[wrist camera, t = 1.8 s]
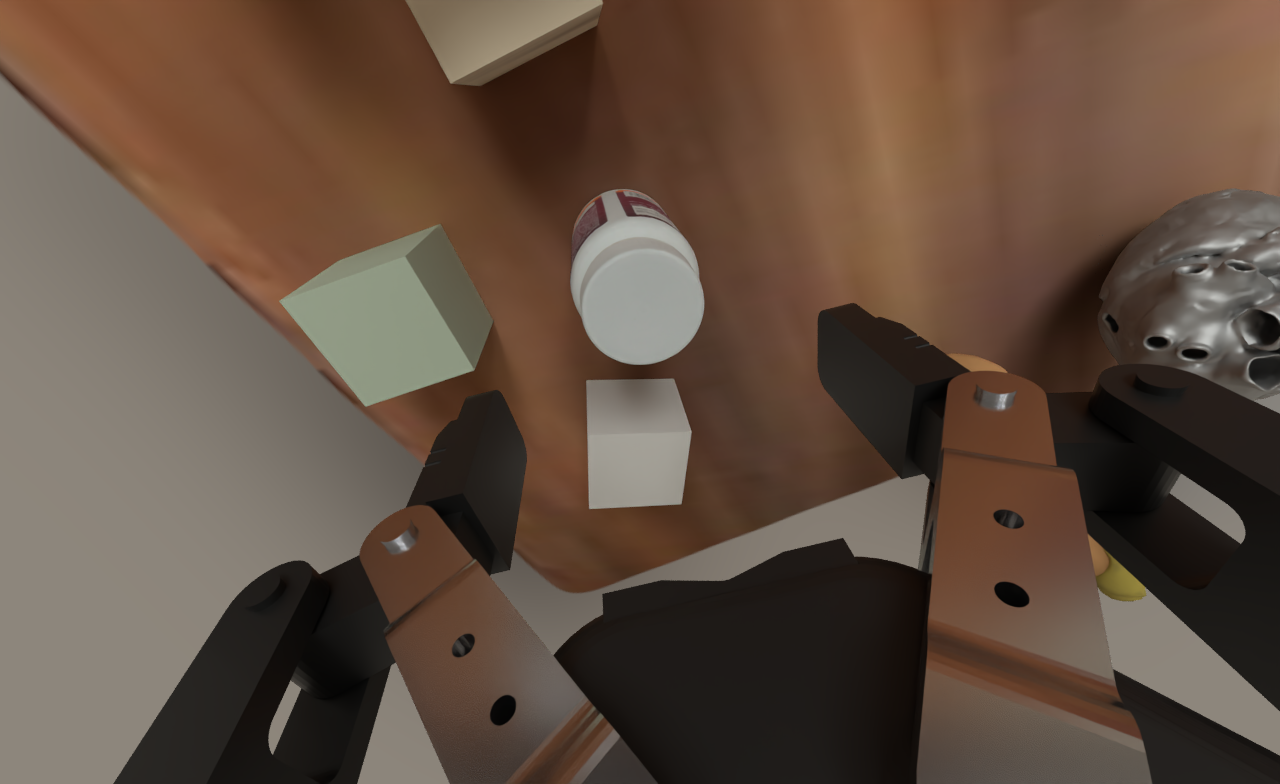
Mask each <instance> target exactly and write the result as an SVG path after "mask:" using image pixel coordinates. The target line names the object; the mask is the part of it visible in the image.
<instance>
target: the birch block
mask: <svg viewBox="0 0 1280 784" xmlns="http://www.w3.org/2000/svg"><path fill="white" fill-rule="evenodd" d="M406 2H407V4H408V6H409V7H410V9H411V11H412V13H413V15H414V17H415V19H416V20H417V22H418V24H419V26H420V28H421V30H422V32H423V33H424V35H425V37H426V39H427V41H428V43H429V45H430V46H431V48H432V50H433V52H434V54H435V56H436V57H437V59H438V61H439V63H440V65H441V67H442V69H443V70H444V72H445V74H446V76H447V78H448V80H449V82H450V83H451V84H461V85H473V86H482V85H484V84H485V83H487V82H489V81H491V80H493V79H495V78H497V77H499V76H501V75H503V74H505V73H507V72H508V71H510V70H512V69H514V68H516V67H518V66H520V65H522V64H524V63H526V62H528V61H530V60H532V59H533V58H535V57H537V56H539V55H541V54H543V53H545V52H547V51H549V50H551V49H553V48H555V47H557V46H558V45H560V44H562V43H564V42H566V41H568V40H570V39H572V38H574V37H576V36H578V35H580V34H582V33H583V32H585V31H587V30H589V29H591V28H593V27H595V26H597V24H598V20H599V17H600V13H601V9H602V5H603V2H602V0H406Z"/></svg>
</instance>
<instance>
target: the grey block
mask: <svg viewBox="0 0 1280 784" xmlns="http://www.w3.org/2000/svg"><path fill="white" fill-rule="evenodd" d="M586 388H587V440H588V485H589V509H599V508H618V507H638V506H657V505H677V504H682V497H683V490H684V483H685V475H686V468H687V461H688V454H689V447H690V440H691V433H692V431H691V428H690V425H689V422H688V419H687V416H686V413H685V410H684V407H683V404H682V401H681V398H680V395H679V392H678V389H677V386H676V383H675V380H674V379H627V380H586Z"/></svg>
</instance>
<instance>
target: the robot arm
mask: <svg viewBox="0 0 1280 784" xmlns="http://www.w3.org/2000/svg"><path fill="white" fill-rule="evenodd" d="M818 373H819V377H820V380H821V383H822V385H823V387H824V389H825V390H826V391H827V392H828V394H829V395H830V396H831V397H832V398H833V399H834V401H835V402H836V403H837V404H838V405H839V406H840V408H841V409H842V410H843V411H844V412H845V414H846V415H847V416H848V417H849V418H850V419H851V421H852V422H853V423H854V424H855V425H856V426H857V428H858V429H859V430H860V431H861V432H862V433H863V435H864V436H865V437H866V438H867V439H868V440H869V442H870V443H871V444H872V445H873V446H874V447H875V449H876V450H877V451H878V452H879V453H880V454H881V456H882V457H883V458H884V459H885V460H886V462H887V463H888V464H889V465H890V466H891V467H892V469H893V470H894V471H895V472H896V473H897V474H898V476H899V477H900V478H901V479H904V478H908V477H913V476H917V475H921V474H925V475H926V476H927V477H928V478H929V479H930V482H929V487H928V492H927V500H926V509H925V517H924V525H923V533H922V541H921V550H920V558H919V565H918V569H915V568H913V567H910V566H906V565H903V564H900V563H897V562H892V561H888V560H883V559H877V558H868V557H854V555H853V554H852V552H851V550H850V549H849V547H848V545H847V544H846V542H845V540H844V539H843V538H841V539H837V540H833V541H828V542H824V543H820V544H815V545H811V546H807V547H802V548H798V549H794V550H790V551H785V552H782V553H780V554H778V555H777V556H775V557H773V558H771V559H769V560H767V561H765V562H763V563H761V564H759V565H757V566H755V567H753V568H751V569H749V570H747V571H745V572H743V573H741V574H740V575H737V576H736V577H734V578H731V579H729V580H725V581H664V580H661V581H657V582H652V583H648V584H644V585H639V586H635V587H631V588H626V589H623V590H618V591H614V592H609V593H605V594H603V615H601V616H600V617H598V618H595V619H594V620H593V621H591V622H589V623H588V624H586V625H585V626H583V627H582V628H581V629H580V630H579V631H577V632H576V633H575V634H573V635H572V636H571V637H570V638H569V639H568V640H567V641H566V642H565V643H564V644H563V645H562V646H561V647H560V648H559V649H558V650H557V652H556V653H555V654H554V655H552V654H551V652H550V651H549V650H548V649H547V647H546V646H545V645H544V644H543V642H542V641H541V640H540V639H539V637H538V636H537V635H536V634H535V632H534V631H533V630H532V629H531V627H530V626H529V625H528V624H527V622H526V621H525V620H524V619H523V617H522V616H521V615H520V614H519V612H518V611H517V610H516V609H515V607H514V606H513V605H512V604H511V602H510V601H509V600H508V599H507V597H506V596H505V595H504V594H503V592H502V591H501V590H500V589H499V587H498V586H497V585H496V584H495V582H494V581H493V580H492V579H491V577H490V575H491V574H495V573H499V572H503V571H507V570H510V567H511V560H512V553H513V547H514V541H515V534H516V528H517V521H518V514H519V508H520V501H521V495H522V488H523V482H524V475H525V469H526V462H527V454H526V448H525V444H524V440H523V438H522V435H521V433H520V431H519V429H518V427H517V425H516V422H515V420H514V418H513V416H512V414H511V412H510V410H509V407H508V405H507V403H506V401H505V399H504V397H503V395H502V394H501V392H500V391H498V390H494V391H490V392H486V393H482V394H478V395H473V396H469V397H467V398H466V399H465V401H464V404H463V407H462V409H461V412H460V414H459V417H458V419H457V420H454V421H451V422H450V423H449V424H448V425H447V426H446V427H445V428H444V429H443V430H442V431H441V432H440V434H439V435H438V436H437V437H436V440H435V442H434V444H433V446H432V449H431V451H430V452H431V454H430V455H429V456H428V458H427V460H426V463H425V467H423V469H422V472H421V474H420V476H419V479H418V481H417V483H416V486H415V488H414V490H413V492H412V495H411V497H410V500H409V502H408V504H407V506H406V508H404V509H402V510H400V511H397V512H395V513H394V514H392V515H390V516H389V517H387V518H386V519H384V520H383V521H382V522H380V523H379V524H378V525H377V526H376V527H375V528H374V529H373V530H372V531H371V532H370V533H369V535H368V536H367V537H366V539H365V541H364V542H363V544H362V546H361V549H360V555H359V556H357V557H355V558H353V559H351V560H349V561H347V562H344V563H342V564H340V565H338V566H336V567H334V568H332V569H330V570H328V571H326V572H324V573H322V574H319V573H318V572H317V571H316V570H314V569H313V568H312V567H311V566H310V565H309V564H308V563H307V562H305V561H291V562H287V563H285V564H281V565H279V566H277V567H275V568H273V569H271V570H269V571H267V572H266V573H264V574H262V575H261V576H259V577H258V578H257V579H255V580H254V581H253V582H251V583H250V584H249V585H248V586H247V587H246V588H244V590H242V591H241V592H240V593H239V594H238V595H237V597H236V598H235V599H234V600H233V601H232V603H231V604H230V605H229V607H228V608H227V610H226V611H225V613H224V614H223V616H222V617H221V619H220V620H219V622H218V624H217V625H216V627H215V628H214V630H213V631H212V633H211V634H210V636H209V637H208V639H207V640H206V642H205V644H204V645H203V647H202V648H201V650H200V651H199V653H198V654H197V656H196V658H195V659H194V660H193V662H192V664H191V665H190V667H189V668H188V670H187V671H186V673H185V674H184V676H183V678H182V679H181V681H180V682H179V684H178V685H177V687H176V688H175V690H174V691H173V693H172V695H171V696H170V697H169V699H168V701H167V702H166V704H165V705H164V707H163V708H162V710H161V711H160V713H159V714H158V716H157V717H156V719H155V720H154V722H153V724H152V725H151V727H150V728H149V730H148V731H147V733H146V734H145V736H144V737H143V739H142V740H141V742H140V744H139V745H138V747H137V748H136V750H135V752H134V753H133V754H132V756H131V757H130V759H129V761H128V762H127V764H126V765H125V767H124V768H123V770H122V772H121V773H120V774H119V776H118V777H117V779H116V781H115V782H114V784H357V782H358V779H359V775H360V772H361V768H362V765H363V762H364V758H365V755H366V751H367V747H368V744H369V740H370V737H371V734H372V730H373V727H374V723H375V719H376V716H377V713H378V709H379V706H380V702H381V698H382V695H383V692H384V688H385V684H386V681H387V678H388V674H389V671H390V667H391V665H392V664H394V663H396V664H397V666H398V668H399V670H400V673H401V675H402V677H403V679H404V682H405V684H406V686H407V688H408V691H409V693H410V695H411V697H412V700H413V702H414V704H415V706H416V709H417V711H418V713H419V715H420V718H421V720H422V722H423V724H424V727H425V729H426V731H427V734H428V736H429V738H430V740H431V742H432V744H433V747H434V749H435V751H436V754H437V756H438V758H439V760H440V763H441V765H442V767H443V769H444V772H445V774H446V776H447V778H448V780H449V783H450V784H1280V756H1279V755H1277V754H1276V753H1274V752H1272V751H1270V750H1268V749H1266V748H1264V747H1262V746H1260V745H1258V744H1256V743H1254V742H1252V741H1251V740H1249V739H1247V738H1245V737H1243V736H1241V735H1239V734H1237V733H1235V732H1233V731H1231V730H1229V729H1227V728H1226V727H1223V726H1222V725H1220V724H1218V723H1216V722H1214V721H1212V720H1210V719H1208V718H1206V717H1204V716H1202V715H1201V714H1199V713H1197V712H1195V711H1193V710H1191V709H1189V708H1187V707H1185V706H1183V705H1181V704H1179V703H1177V702H1175V701H1174V700H1172V699H1170V698H1168V697H1166V696H1164V695H1162V694H1160V693H1158V692H1156V691H1154V690H1152V689H1150V688H1148V687H1147V686H1145V685H1143V684H1141V683H1139V682H1137V681H1135V680H1133V679H1131V678H1129V677H1127V676H1125V675H1123V674H1122V673H1120V672H1118V671H1116V670H1114V669H1113V667H1112V663H1111V657H1110V652H1109V646H1108V641H1107V635H1106V630H1105V625H1104V619H1103V614H1102V609H1101V603H1100V598H1099V593H1098V587H1097V582H1096V576H1095V571H1094V566H1093V560H1092V555H1091V550H1090V544H1089V539H1088V535H1089V536H1091V537H1092V538H1093V539H1094V540H1095V541H1096V542H1097V543H1098V544H1099V545H1100V546H1101V547H1102V548H1104V549H1105V550H1106V551H1107V552H1108V553H1109V554H1110V555H1111V556H1112V557H1113V558H1114V559H1115V560H1117V561H1118V562H1119V563H1120V564H1121V565H1122V566H1123V567H1124V568H1125V569H1126V570H1127V571H1128V572H1130V573H1131V574H1132V575H1133V576H1134V577H1135V578H1136V579H1137V580H1138V581H1139V582H1140V583H1141V584H1143V585H1144V586H1145V587H1146V588H1147V589H1148V590H1149V591H1150V592H1151V593H1152V594H1153V595H1155V596H1156V597H1157V598H1158V599H1159V600H1160V601H1161V602H1162V603H1163V604H1164V605H1166V607H1167V608H1169V609H1170V610H1171V611H1172V612H1173V613H1174V614H1175V615H1176V616H1177V617H1178V618H1179V619H1180V620H1182V621H1183V622H1184V623H1185V624H1186V625H1187V626H1188V627H1189V628H1190V629H1191V630H1192V631H1193V632H1195V633H1196V634H1197V635H1198V636H1199V637H1200V638H1201V639H1202V640H1203V641H1204V642H1205V643H1206V644H1207V645H1209V646H1210V647H1211V648H1212V649H1213V650H1214V651H1215V652H1216V653H1217V654H1218V655H1219V656H1221V657H1222V658H1223V659H1224V660H1225V661H1226V662H1227V663H1228V664H1229V665H1230V666H1231V667H1232V668H1233V669H1235V670H1236V671H1237V672H1238V673H1239V674H1240V675H1241V676H1242V677H1243V678H1244V679H1245V680H1246V681H1248V682H1249V683H1250V684H1251V685H1252V686H1253V687H1254V688H1255V689H1256V690H1257V691H1258V692H1260V693H1261V694H1262V695H1263V696H1264V697H1265V698H1266V699H1267V700H1268V701H1269V702H1270V703H1271V704H1273V705H1274V706H1275V707H1276V708H1277V709H1278V710H1279V711H1280V414H1279V413H1277V412H1275V411H1273V410H1271V409H1269V408H1267V407H1265V406H1262V405H1260V404H1258V403H1256V402H1254V401H1252V400H1250V399H1248V398H1246V397H1244V396H1242V395H1240V394H1237V393H1235V392H1233V391H1231V390H1229V389H1227V388H1225V387H1223V386H1221V385H1219V384H1216V383H1214V382H1212V381H1210V380H1208V379H1206V378H1204V377H1201V376H1199V375H1197V374H1194V373H1191V372H1188V371H1185V370H1181V369H1177V368H1172V367H1167V366H1161V365H1153V364H1124V365H1118V366H1114V367H1111V368H1108V369H1106V370H1104V371H1103V372H1102V373H1101V374H1100V376H1099V378H1098V381H1097V383H1096V385H1095V388H1094V390H1093V392H1073V393H1044V391H1043V390H1042V389H1041V388H1040V387H1039V386H1038V385H1036V384H1035V383H1033V382H1032V381H1030V380H1028V379H1025V378H1023V377H1020V376H1017V375H1014V374H1010V373H1005V372H998V371H973V372H971V371H970V370H968V369H967V368H965V367H964V366H962V365H961V364H959V363H958V362H957V361H955V360H954V359H952V358H951V357H949V356H948V355H946V354H945V353H943V352H942V351H941V350H939V349H938V348H936V347H935V346H933V345H929V342H927V341H926V340H924V339H923V338H922V337H920V336H919V337H917V334H916V333H914V332H913V331H911V330H910V329H908V328H907V327H906V326H904V325H903V324H901V323H897V322H894V321H891V320H888V319H885V318H882V317H878V318H875V317H873V316H872V315H871V314H869V313H868V312H867V311H865V310H864V309H862V308H861V307H860V306H858V305H857V304H855V303H850V304H846V305H842V306H838V307H834V308H830V309H826V310H822V311H821V312H820V313H819V316H818ZM1180 474H1183V475H1185V476H1186V477H1188V478H1189V479H1191V480H1192V481H1194V482H1195V483H1197V484H1198V485H1200V486H1201V487H1203V488H1204V489H1206V490H1207V491H1209V492H1210V493H1212V494H1213V495H1215V496H1216V497H1218V498H1219V499H1221V500H1222V501H1224V502H1225V503H1226V504H1228V505H1229V506H1230V507H1231V508H1233V509H1234V510H1235V511H1236V513H1237V514H1238V515H1239V516H1240V518H1241V520H1242V521H1243V524H1244V526H1245V530H1246V531H1245V532H1246V535H1245V539H1244V541H1243V542H1242V543H1241V544H1240V543H1238V542H1237V541H1236V540H1234V539H1233V538H1232V537H1230V536H1229V535H1227V534H1226V533H1225V532H1223V531H1222V530H1220V529H1219V528H1217V527H1216V526H1215V525H1213V524H1212V523H1211V522H1209V521H1208V520H1206V519H1205V518H1204V517H1202V516H1201V515H1199V514H1198V513H1197V512H1195V511H1194V510H1192V509H1191V508H1190V507H1188V506H1187V505H1185V504H1184V503H1183V502H1181V501H1180V500H1178V499H1177V498H1176V497H1174V496H1173V495H1171V494H1170V493H1169V492H1170V491H1171V489H1172V487H1173V486H1174V484H1175V483H1176V481H1177V479H1178V477H1179V476H1180ZM290 680H291V681H292V682H294V683H295V684H296V685H298V686H299V687H300V688H302V689H301V691H300V693H299V696H298V698H297V700H296V703H295V705H294V707H293V710H292V712H291V714H290V716H289V719H288V721H287V723H286V726H285V728H284V730H283V733H282V735H281V737H280V740H279V742H278V744H277V747H276V749H275V751H274V754H273V755H272V754H271V751H270V748H269V743H268V735H269V729H270V725H271V722H272V720H273V717H274V715H275V713H276V711H277V709H278V706H279V704H280V702H281V700H282V698H283V696H284V693H285V691H286V689H287V687H288V685H289V682H290Z"/></svg>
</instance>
